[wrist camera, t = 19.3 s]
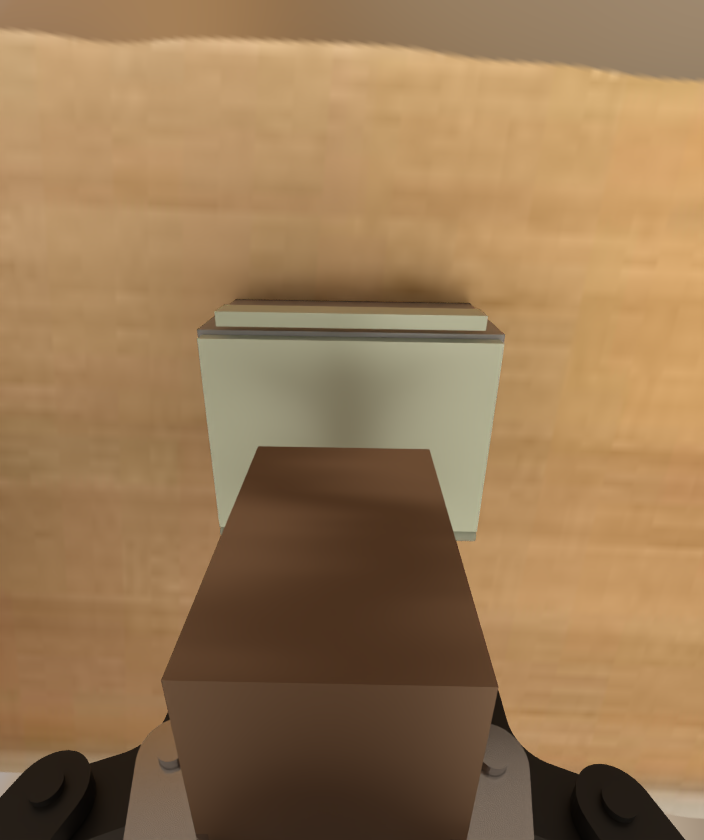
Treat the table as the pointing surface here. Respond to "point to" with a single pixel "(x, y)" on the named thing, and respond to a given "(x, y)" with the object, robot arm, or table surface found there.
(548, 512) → the table surface
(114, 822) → the robot arm
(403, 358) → the lid
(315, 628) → the brown rectangular block
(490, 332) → the box
